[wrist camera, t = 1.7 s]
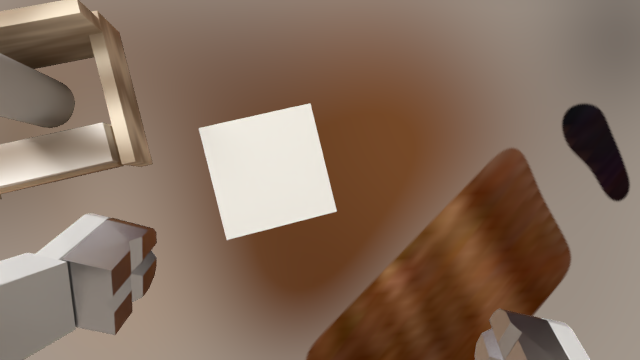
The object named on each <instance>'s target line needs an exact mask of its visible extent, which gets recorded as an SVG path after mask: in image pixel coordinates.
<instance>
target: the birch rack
mask: <svg viewBox="0 0 640 360" xmlns="http://www.w3.org/2000/svg"><path fill="white" fill-rule="evenodd" d="M0 53H1V54H3V55H5V56H7V57H9V58H11V59H13V60H15V61H17V62H19V63H22V64H24V65H26V66H28V67H30V68H32V69H35V68H41V67H46V66H51V65H56V64H61V63H67V62H71V61H77V60H82V59H87V58H92V57H95V61H96V65H97V69H98V73H99V77H100V80H101V85H102V88H103V92H104V96H105V100H106V104H107V108H108V112H109V116H110V119H111V124H112V128H113V131H114V135H115V139H116V143H117V147H118V151H119V155H120V159H121V163H122V164H123V165H131V166H138V167H142V166H147V165H151V164H153V163H152V159H151V156H150V152H149V148H148V144H147V140H146V136H145V132H144V128H143V124H142V120H141V116H140V112H139V108H138V104H137V100H136V96H135V92H134V88H133V84H132V80H131V76H130V73H129V69H128V65H127V61H126V57H125V53H124V49H123V45H122V41H121V37H120V33H119V32H118V31H117V30H116V29H115V28H114V27H113V26H112V25H111V24H110V23H109V22H108V21H107V20H106V19H105V18H104V17H103V16H102V15H101V14H100V13H99V12H98V11H92V12H91V11H90V10H89V9H88V8H86V6H85V5H83V4H82V3H81V2H80V1H79V0H62V1H57V2H51V3H46V4H40V5H34V6H29V7H23V8H18V9H11V10H6V11H0ZM0 199H1V194H0Z"/></svg>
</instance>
